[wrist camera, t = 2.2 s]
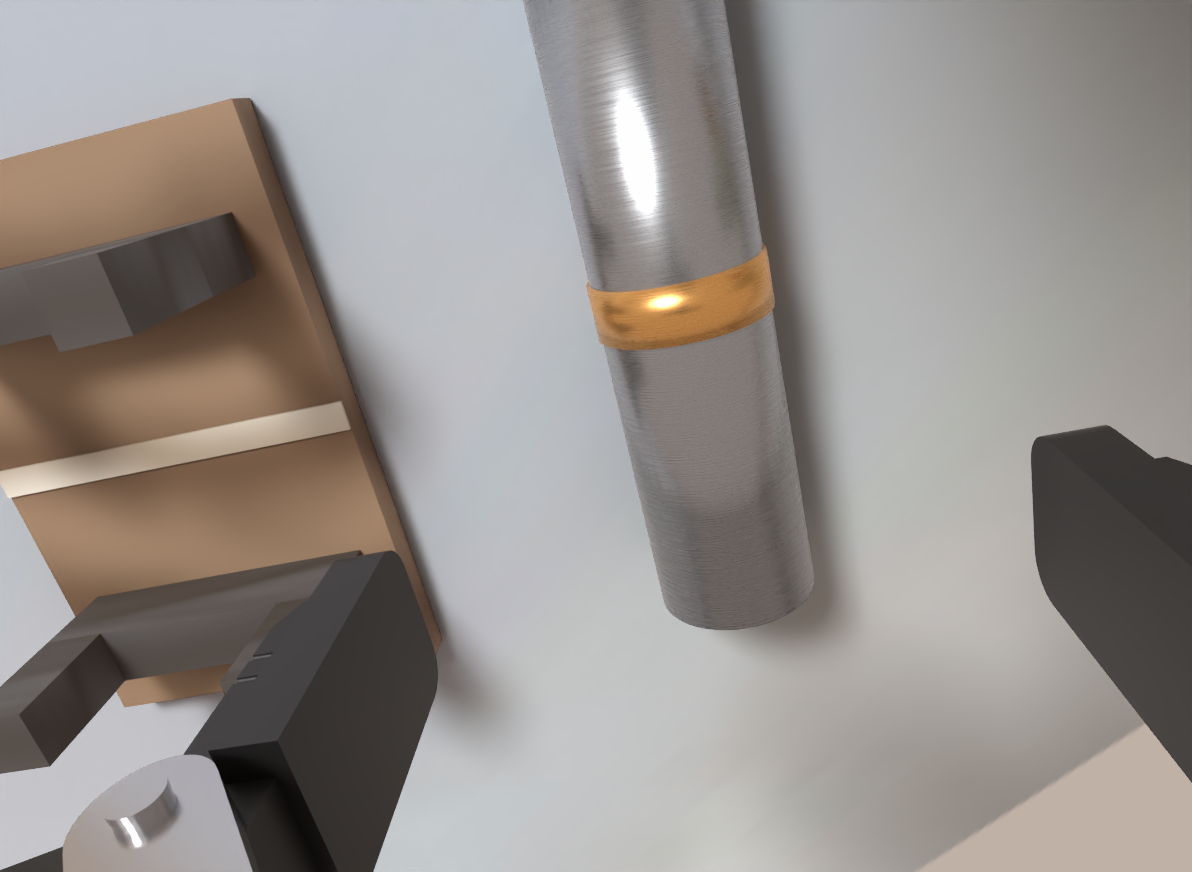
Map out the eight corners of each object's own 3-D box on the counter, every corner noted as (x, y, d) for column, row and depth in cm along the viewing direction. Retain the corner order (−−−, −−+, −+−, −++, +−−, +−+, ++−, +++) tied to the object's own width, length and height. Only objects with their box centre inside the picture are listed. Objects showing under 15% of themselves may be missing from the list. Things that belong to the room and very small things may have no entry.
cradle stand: (-118, 195, 27) (-401, 235, 20) (249, 98, 26) (86, 103, 18) (141, 687, 35) (3, 850, 27) (442, 639, 33) (381, 799, 25)
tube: (514, -55, 24) (486, -93, 19) (698, -105, 23) (718, -158, 18) (657, 558, 31) (663, 644, 26) (800, 531, 30) (834, 615, 25)
